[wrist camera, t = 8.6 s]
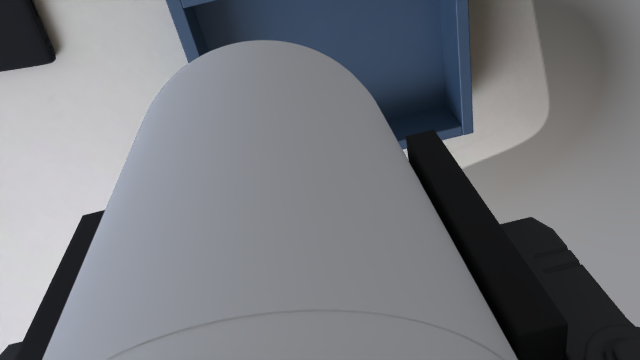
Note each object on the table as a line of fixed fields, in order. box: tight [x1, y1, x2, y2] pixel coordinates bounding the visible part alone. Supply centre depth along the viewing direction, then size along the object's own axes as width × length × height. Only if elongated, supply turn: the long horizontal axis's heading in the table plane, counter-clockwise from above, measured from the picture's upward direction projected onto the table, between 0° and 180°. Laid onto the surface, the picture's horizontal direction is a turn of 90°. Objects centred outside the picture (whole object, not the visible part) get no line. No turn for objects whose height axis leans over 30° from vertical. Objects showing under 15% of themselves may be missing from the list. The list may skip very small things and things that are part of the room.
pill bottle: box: [42, 40, 518, 360], centre depth 10 cm, size 8×8×15 cm
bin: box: [166, 0, 473, 149], centre depth 34 cm, size 18×14×4 cm
